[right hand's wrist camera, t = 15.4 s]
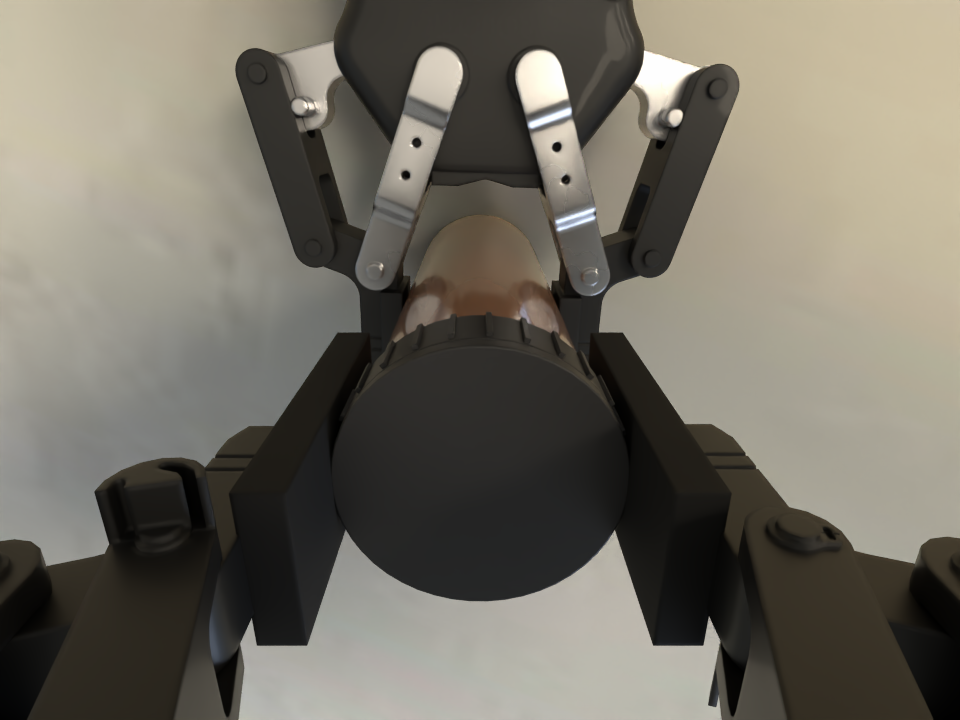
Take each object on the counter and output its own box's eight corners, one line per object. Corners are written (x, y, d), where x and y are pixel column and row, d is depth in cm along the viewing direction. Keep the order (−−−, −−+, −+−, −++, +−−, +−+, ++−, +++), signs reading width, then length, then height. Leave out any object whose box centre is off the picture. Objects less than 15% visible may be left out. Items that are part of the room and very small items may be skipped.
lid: (598, 285, 11) (619, 313, 9) (626, 527, 13) (646, 583, 11) (313, 337, 11) (285, 371, 10) (383, 564, 13) (370, 623, 12)
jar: (554, 301, 26) (646, 522, 11) (452, 343, 26) (419, 601, 12) (511, 194, 24) (556, 299, 10) (403, 243, 25) (299, 406, 10)
